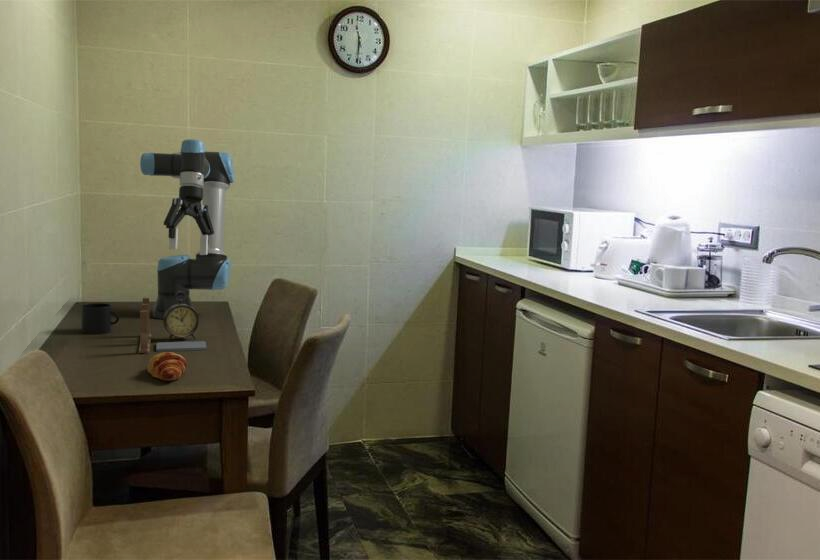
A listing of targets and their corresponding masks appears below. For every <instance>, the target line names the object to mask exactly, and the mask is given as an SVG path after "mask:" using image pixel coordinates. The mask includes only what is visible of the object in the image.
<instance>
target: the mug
mask: <svg viewBox="0 0 820 560" xmlns="http://www.w3.org/2000/svg"><path fill="white" fill-rule="evenodd" d="M80 307H81V308H80V313H81V316H80V317H81V318H80V319H81V332H82V333H83V334H87V335H102V334H103V333H104V334H108V333H110V332H112V330H113V329H112V326H113V325H116V324H118V322H119V321H120V315H119V314H118V313H117V312H116V311H114V310H112V305H111V304H109V303H102V302H100V303H98V302H97V303H95V302H93V303H85V304H82V305H80ZM112 315H114V316H115V317H116V319H115V320H114V321H112Z"/></svg>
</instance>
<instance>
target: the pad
mask: <svg viewBox="0 0 820 560" xmlns="http://www.w3.org/2000/svg"><path fill="white" fill-rule="evenodd" d="M207 349H208V348H207V343H206V341H205V340H202V341H201V340H200V341H170V342H169V341H165V342H164V341H163V342H156V349H155V350H156V352H178V351H179V352H184V351H185V352H186V351H187V352H188V351H207Z"/></svg>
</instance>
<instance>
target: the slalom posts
mask: <svg viewBox="0 0 820 560" xmlns="http://www.w3.org/2000/svg"><path fill="white" fill-rule="evenodd" d="M139 320H140V321H139V326H140V329H139V331H140V332H139V333H140V335H139V336H140V337H139V338H140V339H139V341H140V342H139V348H138V354H139V353H149V354H150V351H151V349H150V348H151V343H152V342H151V339H152V333H150V332H151V331H150V297H143V298H142V303H141V310H139Z"/></svg>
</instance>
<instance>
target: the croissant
mask: <svg viewBox="0 0 820 560" xmlns="http://www.w3.org/2000/svg"><path fill="white" fill-rule="evenodd" d="M187 365H188V362H187V360H186V359H185V358H184V357H183V356H182V355H181V354H177V353H175V352H174V351H162V352H160V353H156V354H155V355H154V356H152V357H150V360H149V362H148V363H147V373H149V374H150V375H151V376H152V377H154V378H156V379H160V380H162V381H165V382H169V381H175V380H179V378H181V376H183V374H184V373H185V371H186V367H187Z"/></svg>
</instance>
